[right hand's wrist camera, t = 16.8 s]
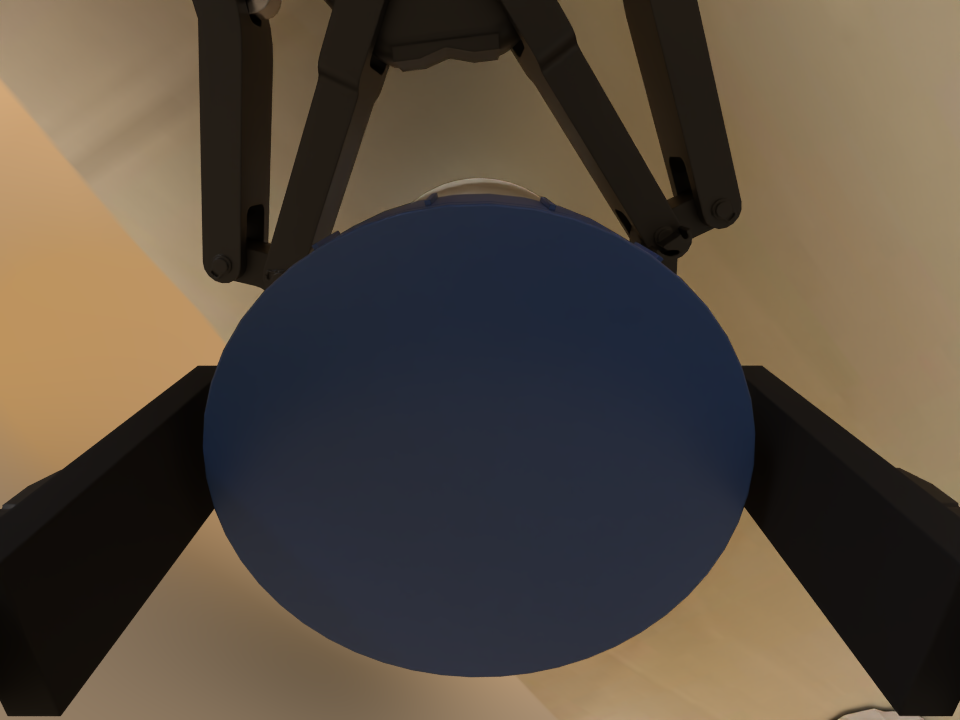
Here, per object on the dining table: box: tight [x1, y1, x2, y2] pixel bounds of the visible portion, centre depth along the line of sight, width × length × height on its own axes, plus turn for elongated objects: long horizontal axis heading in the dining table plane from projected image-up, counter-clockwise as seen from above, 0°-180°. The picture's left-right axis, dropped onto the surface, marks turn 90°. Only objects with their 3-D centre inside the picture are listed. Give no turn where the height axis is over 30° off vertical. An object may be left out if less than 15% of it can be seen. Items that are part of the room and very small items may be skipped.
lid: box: [203, 193, 755, 677], centre depth 11 cm, size 11×11×2 cm
